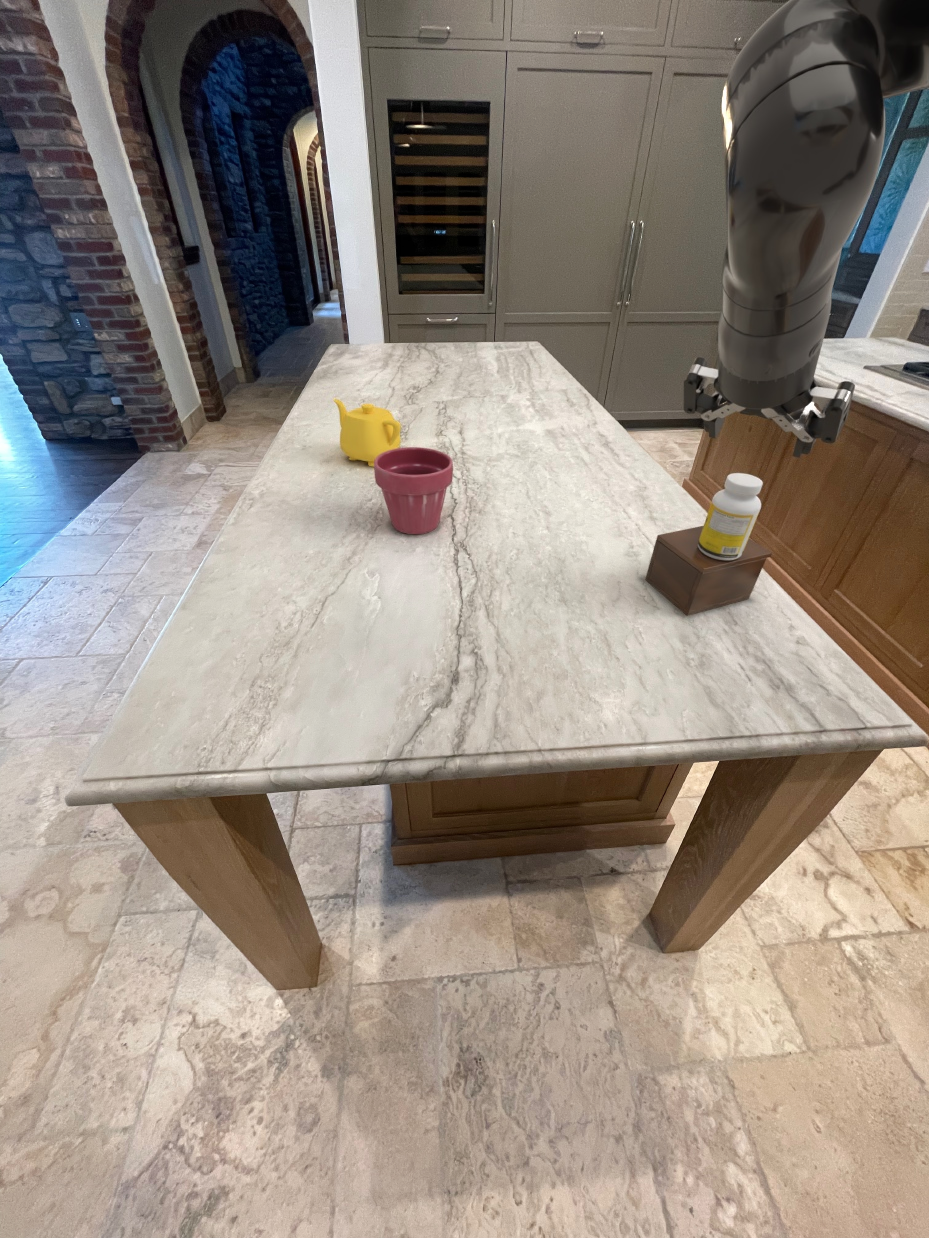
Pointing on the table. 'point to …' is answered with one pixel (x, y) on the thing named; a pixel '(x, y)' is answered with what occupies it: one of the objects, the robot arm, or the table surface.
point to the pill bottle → (731, 517)
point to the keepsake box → (700, 581)
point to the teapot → (367, 432)
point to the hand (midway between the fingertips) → (756, 439)
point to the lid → (688, 550)
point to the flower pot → (414, 486)
